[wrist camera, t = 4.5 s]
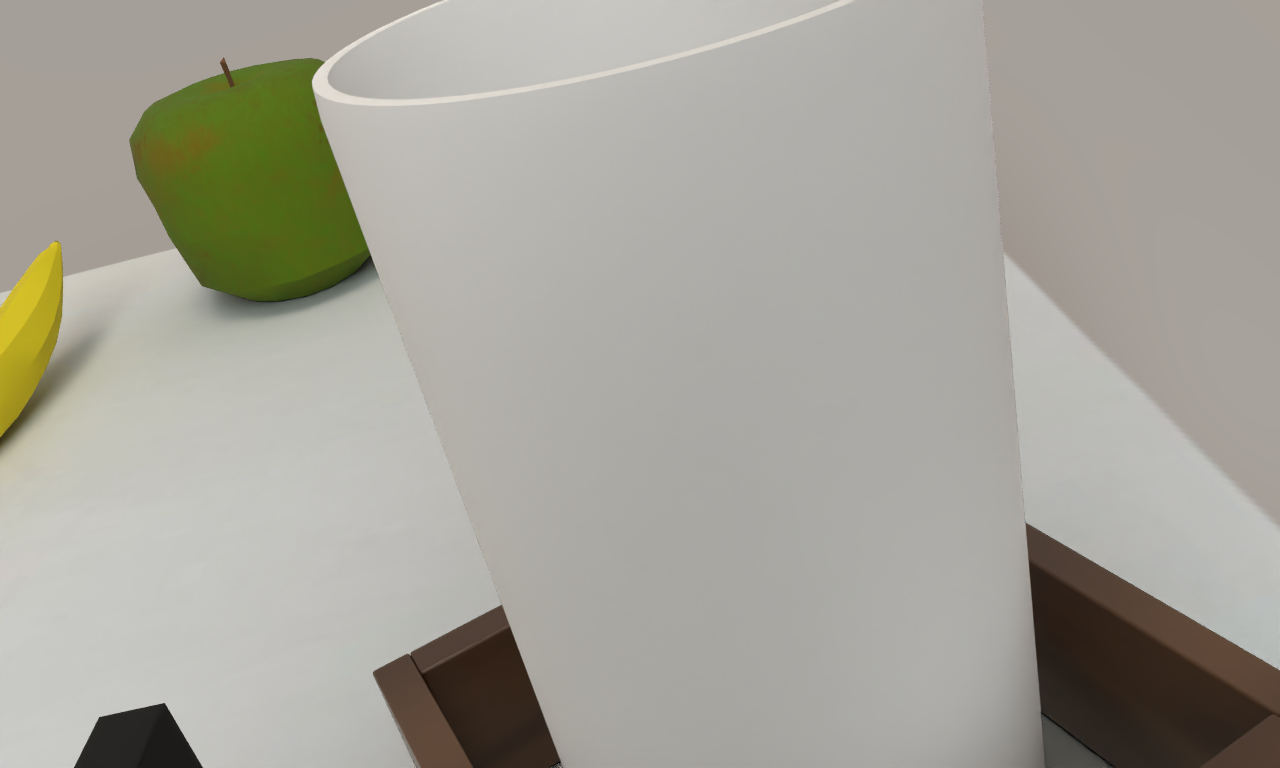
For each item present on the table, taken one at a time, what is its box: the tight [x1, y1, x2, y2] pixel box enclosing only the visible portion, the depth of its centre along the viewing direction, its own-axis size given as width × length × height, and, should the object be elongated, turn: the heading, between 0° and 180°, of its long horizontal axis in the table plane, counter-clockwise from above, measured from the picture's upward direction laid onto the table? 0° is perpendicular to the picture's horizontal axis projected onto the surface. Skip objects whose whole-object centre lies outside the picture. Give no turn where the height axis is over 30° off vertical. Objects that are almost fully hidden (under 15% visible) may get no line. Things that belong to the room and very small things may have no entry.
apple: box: [130, 58, 371, 302], centre depth 54 cm, size 11×11×11 cm
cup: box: [312, 0, 1046, 768], centre depth 18 cm, size 8×8×16 cm
